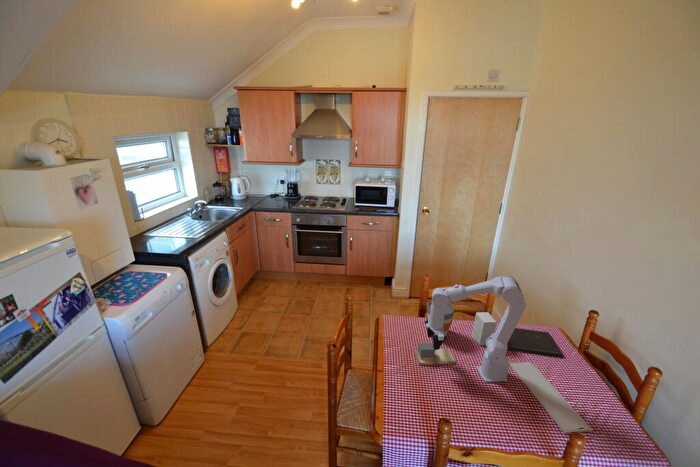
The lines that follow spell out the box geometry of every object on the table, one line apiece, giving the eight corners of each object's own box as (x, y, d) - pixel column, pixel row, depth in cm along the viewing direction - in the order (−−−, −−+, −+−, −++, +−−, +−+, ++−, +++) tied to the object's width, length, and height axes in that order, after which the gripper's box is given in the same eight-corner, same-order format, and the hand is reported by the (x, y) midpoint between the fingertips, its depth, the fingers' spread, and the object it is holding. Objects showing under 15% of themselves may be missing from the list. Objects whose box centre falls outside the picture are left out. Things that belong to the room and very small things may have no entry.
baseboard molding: (534, 364, 132) (508, 366, 130) (535, 358, 131) (510, 360, 129) (596, 432, 103) (564, 435, 102) (598, 426, 102) (566, 429, 101)
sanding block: (430, 352, 135) (432, 343, 133) (433, 358, 131) (435, 349, 129) (417, 352, 134) (418, 343, 133) (420, 359, 131) (421, 349, 129)
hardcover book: (498, 329, 154) (499, 325, 153) (547, 336, 150) (548, 332, 149) (507, 351, 139) (508, 347, 138) (562, 359, 135) (563, 354, 134)
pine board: (448, 350, 138) (448, 348, 137) (455, 363, 130) (455, 361, 130) (414, 351, 136) (414, 349, 136) (419, 364, 129) (419, 362, 129)
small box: (492, 345, 142) (497, 322, 137) (479, 345, 141) (484, 322, 137) (483, 334, 149) (488, 311, 145) (471, 334, 149) (475, 312, 144)
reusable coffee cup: (420, 325, 154) (423, 300, 149) (444, 324, 156) (447, 299, 151) (429, 342, 143) (433, 315, 138) (454, 340, 144) (459, 314, 139)
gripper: (422, 306, 130) (419, 332, 134) (433, 327, 116) (429, 355, 121) (438, 305, 130) (434, 331, 135) (450, 327, 117) (446, 354, 121)
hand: (433, 342), depth 128 cm, fingers open, 7 cm apart
